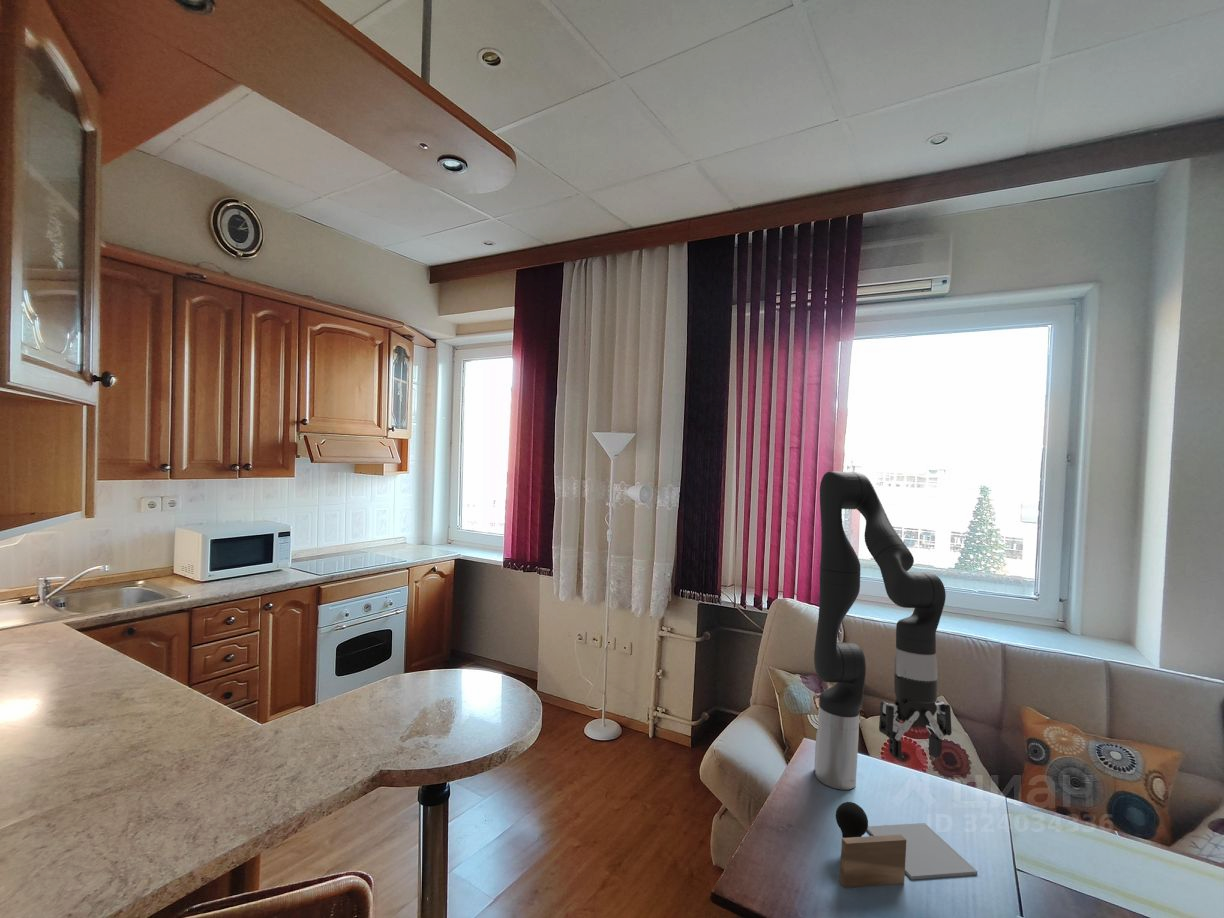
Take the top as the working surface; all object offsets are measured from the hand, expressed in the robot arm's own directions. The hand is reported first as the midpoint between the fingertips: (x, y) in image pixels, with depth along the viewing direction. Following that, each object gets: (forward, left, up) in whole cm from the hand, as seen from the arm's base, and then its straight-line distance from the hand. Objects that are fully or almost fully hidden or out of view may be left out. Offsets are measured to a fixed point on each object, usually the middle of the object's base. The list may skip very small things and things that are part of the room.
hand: (915, 757), depth 109 cm
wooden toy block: (+6, -12, -20) cm, 24 cm away
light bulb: (-1, -12, -20) cm, 23 cm away
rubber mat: (-1, +3, -20) cm, 20 cm away
